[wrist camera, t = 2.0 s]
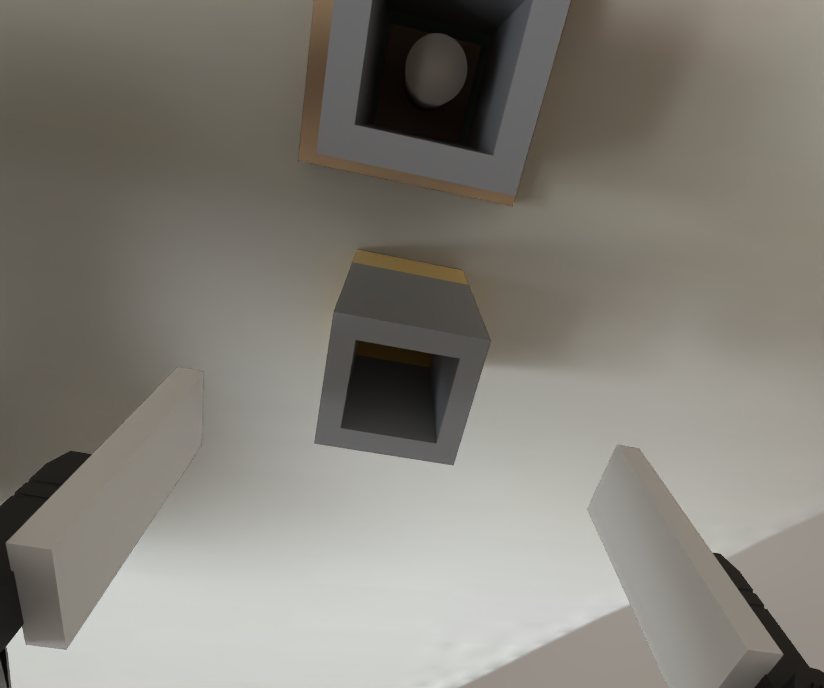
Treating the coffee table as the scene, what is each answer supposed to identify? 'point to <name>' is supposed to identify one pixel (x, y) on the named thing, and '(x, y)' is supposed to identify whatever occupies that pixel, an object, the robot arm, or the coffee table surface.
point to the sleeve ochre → (401, 360)
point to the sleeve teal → (489, 99)
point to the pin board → (401, 97)
